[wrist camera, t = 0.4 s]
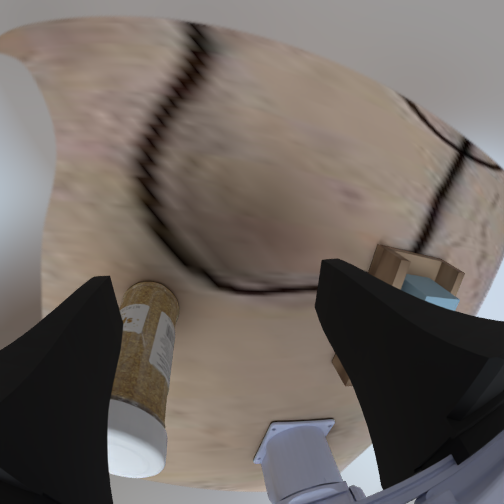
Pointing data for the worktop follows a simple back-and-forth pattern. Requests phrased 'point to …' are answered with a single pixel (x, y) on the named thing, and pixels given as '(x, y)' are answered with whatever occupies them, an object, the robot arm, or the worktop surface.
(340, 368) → the walnut channel
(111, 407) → the sprinkles bottle
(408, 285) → the blue block
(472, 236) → the worktop surface
